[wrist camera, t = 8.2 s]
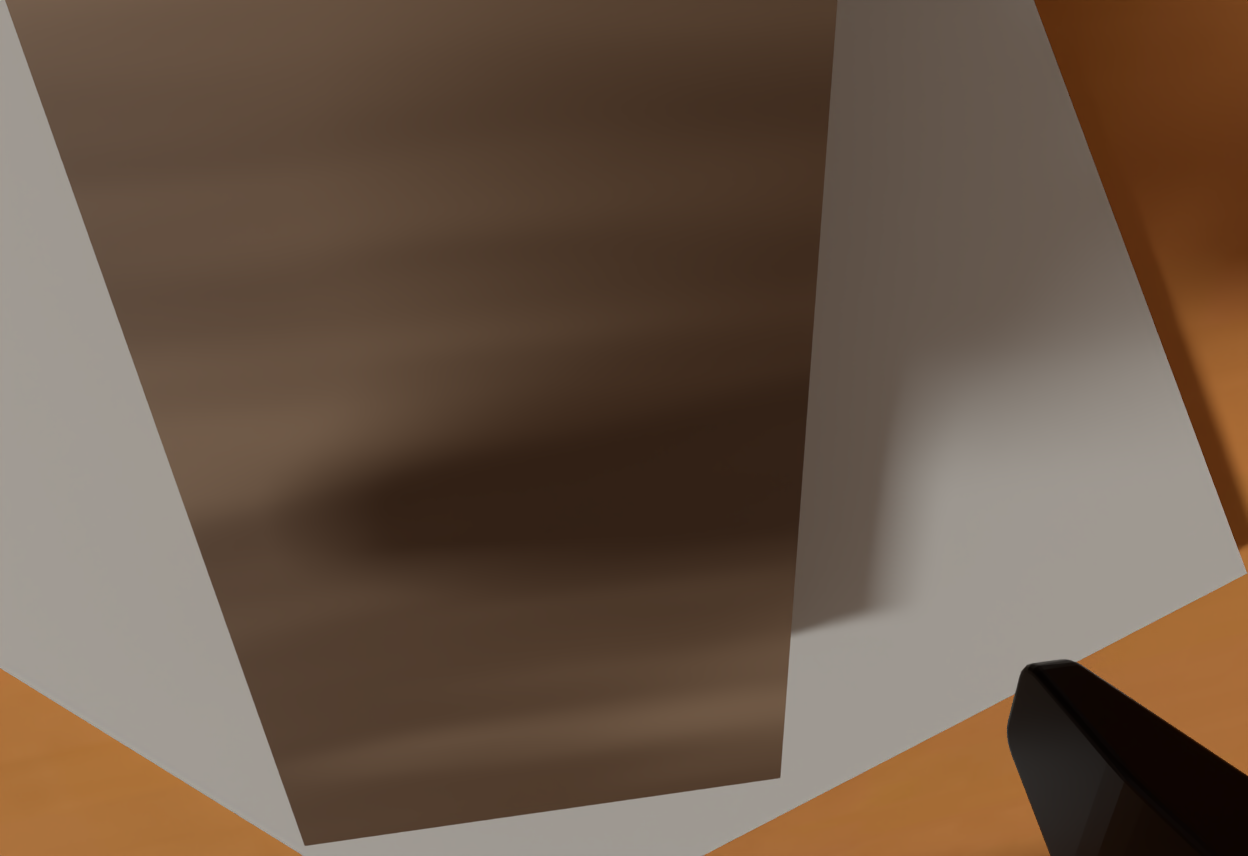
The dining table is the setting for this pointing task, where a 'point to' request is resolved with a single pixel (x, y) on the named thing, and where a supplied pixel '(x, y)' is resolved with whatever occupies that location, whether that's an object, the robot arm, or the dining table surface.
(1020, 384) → the grey mat
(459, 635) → the walnut block
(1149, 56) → the dining table surface
